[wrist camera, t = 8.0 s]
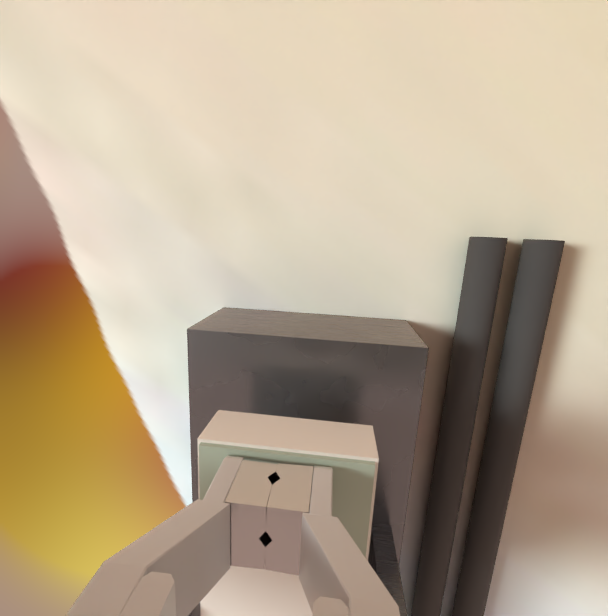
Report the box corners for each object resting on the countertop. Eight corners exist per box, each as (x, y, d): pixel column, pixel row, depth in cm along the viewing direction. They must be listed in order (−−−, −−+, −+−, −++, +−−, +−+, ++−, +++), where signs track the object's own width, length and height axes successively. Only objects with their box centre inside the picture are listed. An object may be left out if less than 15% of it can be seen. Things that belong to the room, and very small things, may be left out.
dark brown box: (223, 307, 16) (103, 378, 8) (406, 320, 15) (483, 415, 7) (225, 588, 20) (145, 833, 12) (371, 611, 19) (395, 891, 11)
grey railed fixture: (550, 241, 14) (573, 241, 13) (457, 690, 20) (465, 724, 18) (243, 226, 15) (233, 225, 14) (240, 653, 21) (233, 682, 20)
